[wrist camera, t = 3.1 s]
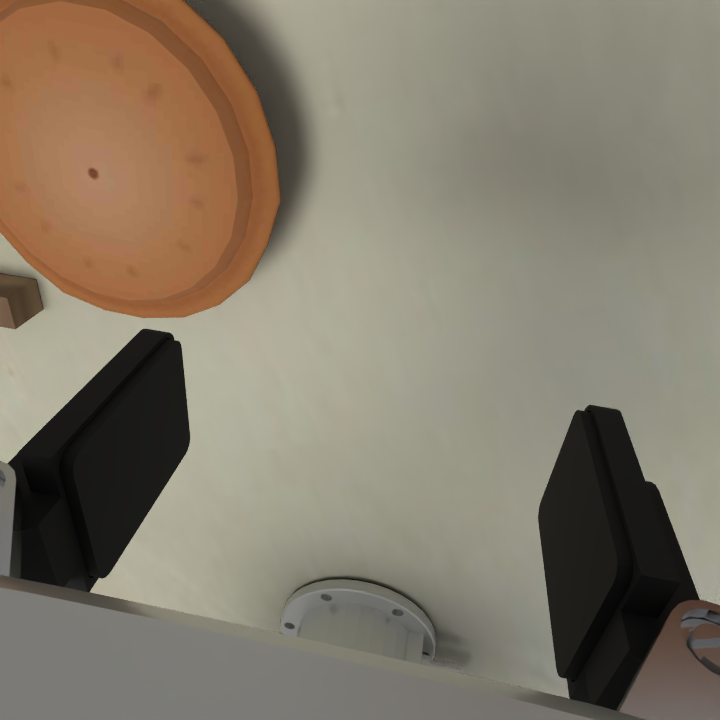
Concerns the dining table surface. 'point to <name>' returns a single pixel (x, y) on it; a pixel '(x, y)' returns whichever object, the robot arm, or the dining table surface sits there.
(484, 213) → the dining table surface
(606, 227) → the dining table surface
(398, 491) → the dining table surface
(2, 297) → the corner stop
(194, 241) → the pie
